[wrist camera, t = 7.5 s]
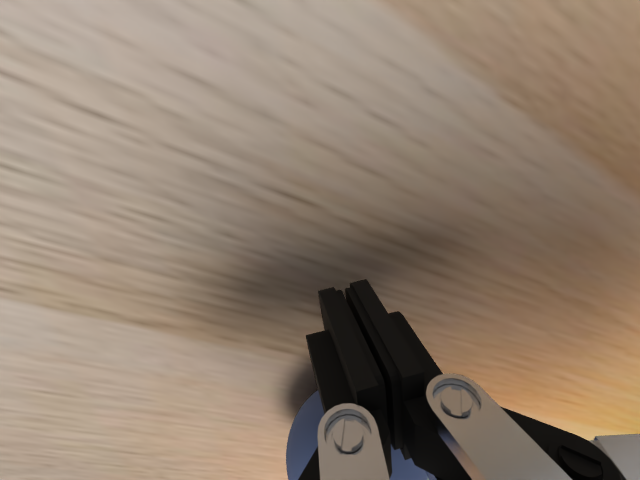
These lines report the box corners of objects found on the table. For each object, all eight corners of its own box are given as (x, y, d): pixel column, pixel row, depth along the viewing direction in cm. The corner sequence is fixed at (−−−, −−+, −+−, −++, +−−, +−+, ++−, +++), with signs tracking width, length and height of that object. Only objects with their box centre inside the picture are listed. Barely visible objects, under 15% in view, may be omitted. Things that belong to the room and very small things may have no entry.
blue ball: (457, 567, 11) (396, 440, 16) (459, 437, 10) (393, 344, 15) (301, 611, 10) (289, 463, 16) (282, 476, 9) (276, 364, 14)
